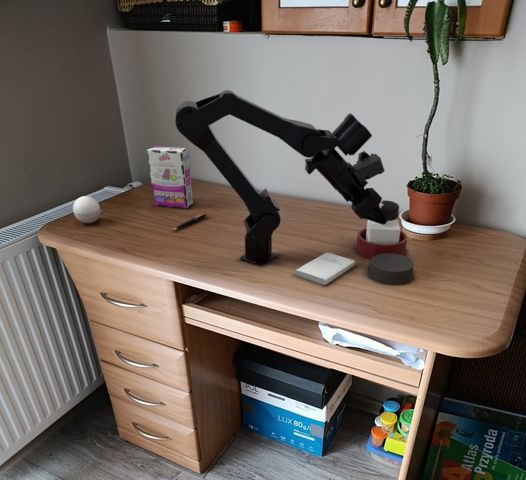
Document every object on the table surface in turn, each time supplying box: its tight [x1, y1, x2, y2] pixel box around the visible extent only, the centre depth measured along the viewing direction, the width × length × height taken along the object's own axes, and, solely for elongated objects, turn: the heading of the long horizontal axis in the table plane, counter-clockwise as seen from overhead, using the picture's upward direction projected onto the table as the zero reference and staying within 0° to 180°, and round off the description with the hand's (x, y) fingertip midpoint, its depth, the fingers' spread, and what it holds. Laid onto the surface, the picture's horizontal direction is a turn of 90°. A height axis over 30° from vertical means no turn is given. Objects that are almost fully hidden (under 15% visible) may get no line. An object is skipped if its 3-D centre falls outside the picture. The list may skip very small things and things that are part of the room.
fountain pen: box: [172, 213, 207, 231], centre depth 143 cm, size 14×1×2 cm, turn 145°
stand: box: [366, 253, 415, 286], centre depth 116 cm, size 10×10×3 cm
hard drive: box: [294, 251, 356, 286], centre depth 118 cm, size 2×8×12 cm
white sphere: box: [72, 195, 102, 224], centre depth 142 cm, size 10×7×7 cm
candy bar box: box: [146, 146, 194, 209], centre depth 152 cm, size 11×5×16 cm, turn 73°
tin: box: [355, 227, 408, 260], centre depth 126 cm, size 12×12×4 cm
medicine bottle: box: [366, 199, 401, 244], centre depth 124 cm, size 7×7×12 cm
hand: (379, 216), depth 122 cm, fingers open, 9 cm apart
